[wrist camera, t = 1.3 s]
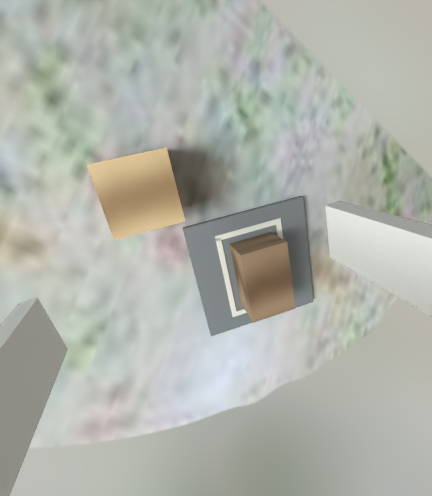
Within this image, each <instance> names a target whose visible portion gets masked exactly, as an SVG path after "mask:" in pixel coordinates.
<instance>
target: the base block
mask: <svg viewBox="0 0 432 496" xmlns="http://www.w3.org/2000/svg"><path fill="white" fill-rule="evenodd" d="M229 246H230V251H231V255H232V260H233V265H234V270H235V275H236V280H237V285H238V290H239V295H240V300H241V304H242V306H243V308H244V309H245V311H246V312H247V314H248V315H249V317H250V318H251V320H252V321H253V322H256V321H259V320H262V319H265V318H268V317H271V316H274V315H277V314H280V313H283V312H286V311H289V310H292V309H295V302H294V294H293V285H292V277H291V269H290V261H289V253H288V245H287V241H285V240H283V239H282V238H280V237H278V236H276V235H275V234H273V233H271V232H269V233H265V234H262V235H258V236H255V237H251V238H248V239H244V240H241V241H237V242H234V243H230V244H229Z"/></svg>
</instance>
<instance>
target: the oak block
mask: <svg viewBox="0 0 432 496" xmlns="http://www.w3.org/2000/svg"><path fill="white" fill-rule="evenodd" d="M87 166H88V169H89V172H90V175H91V177H92V180H93V183H94V186H95V189H96V191H97V194H98V197H99V200H100V203H101V205H102V208H103V211H104V214H105V216H106V219H107V222H108V225H109V228H110V230H111V233H112V236H113V239H114V240H116V239H120V238H124V237H128V236H131V235H135V234H139V233H143V232H147V231H150V230H154V229H158V228H162V227H166V226H169V225H173V224H177V223H181V222H185V218H184V214H183V210H182V206H181V202H180V198H179V194H178V190H177V186H176V182H175V178H174V174H173V170H172V167H171V163H170V159H169V155H168V151H167V147H166V148H161V149H157V150H152V151H147V152H143V153H138V154H134V155H129V156H124V157H120V158H115V159H111V160H106V161H101V162H97V163H92V164H88V165H87Z"/></svg>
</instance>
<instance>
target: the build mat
mask: <svg viewBox="0 0 432 496" xmlns="http://www.w3.org/2000/svg"><path fill="white" fill-rule="evenodd" d="M183 231H184V235H185V238H186V242H187V246H188V250H189V254H190V258H191V261H192V265H193V269H194V273H195V277H196V281H197V284H198V288H199V292H200V296H201V300H202V304H203V307H204V311H205V315H206V319H207V323H208V327H209V330H210V334H211V336H213V335H216V334H219V333H222V332H225V331H228V330H231V329H234V328H237V327H240V326H243V325H246V324H249V323H252V322H253V321H252V320H251V318H250V317H249V315H248V314H247V312H246V311H245V309H244V308H243V306H242V304H241V300H240V295H239V290H238V285H237V280H236V275H235V270H234V265H233V260H232V255H231V251H230V246H229V244H230V243H234V242H237V241H241V240H244V239H248V238H251V237H255V236H258V235H262V234H265V233H269V232H271V233H273V234H275V235H276V236H278V237H280V238H282V239H283V240H285V241H287V245H288V253H289V261H290V269H291V277H292V285H293V294H294V302H295V308H296V307H299V306H302V305H305V304H308V303H311V302H313V293H312V282H311V272H310V261H309V251H308V240H307V230H306V219H305V209H304V198H303V197H302V196H299V197H295V198H292V199H288V200H284V201H280V202H277V203H273V204H269V205H265V206H262V207H258V208H254V209H251V210H247V211H243V212H239V213H236V214H232V215H228V216H224V217H221V218H217V219H213V220H209V221H206V222H202V223H198V224H194V225H191V226H187V227H183Z"/></svg>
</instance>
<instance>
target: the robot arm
mask: <svg viewBox="0 0 432 496" xmlns="http://www.w3.org/2000/svg"><path fill="white" fill-rule="evenodd" d="M325 207H326V218H327V229H328V240H329V251H330V258H332V259H334V260H335V261H337V262H339V263H340V264H342V265H344V266H346V267H347V268H349V269H351V270H352V271H354V272H356V273H358V274H359V275H361V276H363V277H364V278H366V279H368V280H370V281H371V282H373V283H375V284H376V285H378V286H380V287H381V288H383V289H385V290H387V291H388V292H390V293H392V294H393V295H395V296H397V297H399V298H400V299H402V300H404V301H405V302H407V303H409V304H411V305H412V306H414V307H416V308H418V309H419V310H421V311H423V312H424V313H426V314H428V315H430V316H431V317H432V225H429V224H425V223H422V222H418V221H414V220H410V219H406V218H403V217H399V216H395V215H391V214H387V213H384V212H380V211H376V210H372V209H368V208H365V207H361V206H357V205H353V204H349V203H346V202H342V201H338V202H335V203H332V204H329V205H326V206H325ZM67 350H68V348H67V347H66V345H65V343H64V342H63V340H62V338H61V337H60V335H59V333H58V331H57V330H56V328H55V326H54V325H53V323H52V321H51V320H50V318H49V316H48V314H47V313H46V311H45V309H44V308H43V306H42V304H41V303H40V301H39V299H38V298H36V299H33V300H30V301H27V302H23V303H20V304H18V305H17V306H16V307H15V309H14V310H13V311H12V312H11V313H10V315H9V316H8V317H7V318H6V319H5V321H4V322H3V323H2V324H1V325H0V496H10V493H11V491H12V488H13V486H14V483H15V481H16V478H17V476H18V473H19V471H20V468H21V466H22V463H23V461H24V458H25V456H26V453H27V451H28V448H29V446H30V443H31V441H32V438H33V435H34V433H35V430H36V428H37V425H38V423H39V420H40V418H41V415H42V413H43V410H44V408H45V405H46V403H47V400H48V398H49V395H50V393H51V390H52V388H53V385H54V383H55V380H56V378H57V375H58V372H59V370H60V367H61V365H62V362H63V360H64V357H65V355H66V352H67Z"/></svg>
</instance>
